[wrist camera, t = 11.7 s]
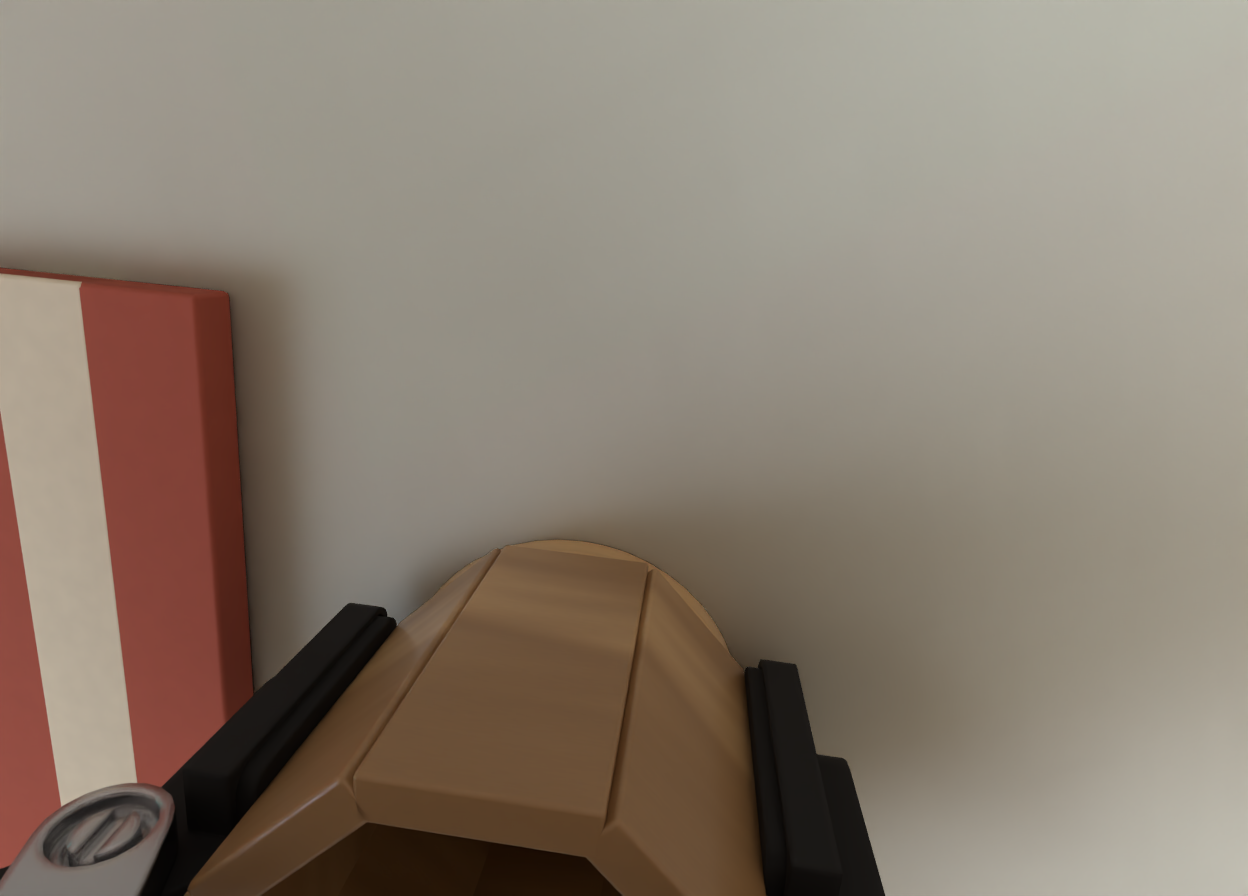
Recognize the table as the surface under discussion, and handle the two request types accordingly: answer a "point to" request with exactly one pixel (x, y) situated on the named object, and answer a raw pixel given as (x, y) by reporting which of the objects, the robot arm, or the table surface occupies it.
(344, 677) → the robot arm
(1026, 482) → the table surface
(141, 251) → the table surface
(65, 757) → the towel
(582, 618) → the scoop
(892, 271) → the table surface
